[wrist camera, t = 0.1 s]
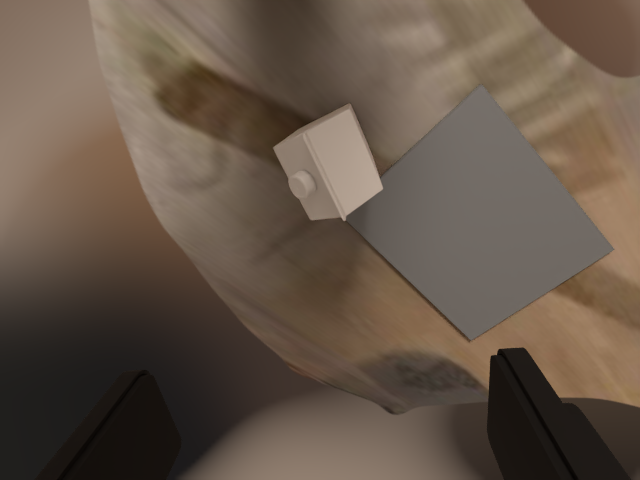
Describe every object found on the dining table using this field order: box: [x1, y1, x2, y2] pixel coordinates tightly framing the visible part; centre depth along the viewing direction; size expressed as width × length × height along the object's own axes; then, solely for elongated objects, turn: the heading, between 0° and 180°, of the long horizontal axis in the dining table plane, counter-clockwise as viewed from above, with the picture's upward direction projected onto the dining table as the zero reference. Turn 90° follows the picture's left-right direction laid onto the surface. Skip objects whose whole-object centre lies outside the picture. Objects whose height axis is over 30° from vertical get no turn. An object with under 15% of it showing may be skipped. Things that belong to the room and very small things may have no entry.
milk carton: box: [273, 103, 383, 221], centre depth 34 cm, size 7×7×19 cm
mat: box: [346, 85, 615, 340], centre depth 45 cm, size 28×22×1 cm
